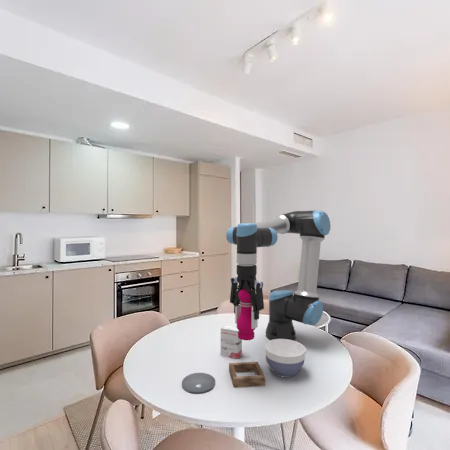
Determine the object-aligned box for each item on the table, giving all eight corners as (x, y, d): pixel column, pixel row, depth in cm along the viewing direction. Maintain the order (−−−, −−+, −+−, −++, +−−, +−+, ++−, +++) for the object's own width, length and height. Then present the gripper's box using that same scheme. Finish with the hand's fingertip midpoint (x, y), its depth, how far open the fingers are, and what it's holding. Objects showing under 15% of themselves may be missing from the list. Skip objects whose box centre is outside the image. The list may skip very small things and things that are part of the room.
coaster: (213, 373, 112) (213, 371, 112) (216, 392, 100) (216, 390, 100) (182, 375, 110) (182, 373, 110) (181, 394, 98) (181, 392, 98)
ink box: (242, 354, 128) (242, 327, 128) (238, 359, 123) (238, 331, 123) (224, 350, 132) (224, 324, 131) (219, 355, 127) (219, 328, 127)
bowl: (298, 387, 103) (298, 360, 103) (257, 374, 111) (257, 349, 111) (310, 368, 117) (310, 344, 116) (273, 357, 125) (273, 335, 125)
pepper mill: (243, 342, 104) (243, 287, 103) (232, 335, 110) (233, 283, 110) (259, 338, 107) (260, 285, 107) (248, 331, 114) (248, 281, 113)
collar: (257, 368, 115) (257, 361, 115) (265, 385, 104) (265, 377, 104) (229, 370, 114) (229, 363, 114) (233, 387, 103) (233, 379, 103)
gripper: (274, 266, 104) (274, 329, 105) (233, 260, 118) (232, 316, 118) (262, 268, 99) (262, 335, 99) (220, 262, 112) (220, 321, 113)
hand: (246, 325), depth 109 cm, fingers closed on pepper mill, 7 cm apart
